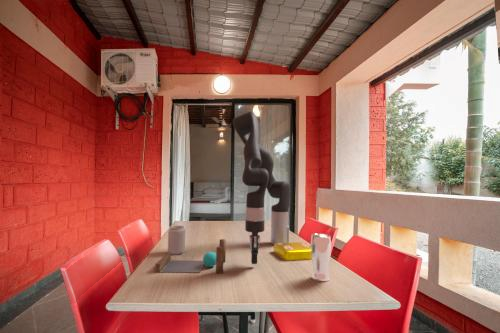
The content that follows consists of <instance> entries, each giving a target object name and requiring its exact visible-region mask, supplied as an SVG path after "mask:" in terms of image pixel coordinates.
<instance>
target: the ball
mask: <svg viewBox="0 0 500 333" xmlns="http://www.w3.org/2000/svg"><path fill="white" fill-rule="evenodd" d="M202 261H203V262H204V266H206V267H208V268H212V267H214V266H216V253H215V252H213V251H208V252H206V253H205V254H204V255H203V258H202Z"/></svg>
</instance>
